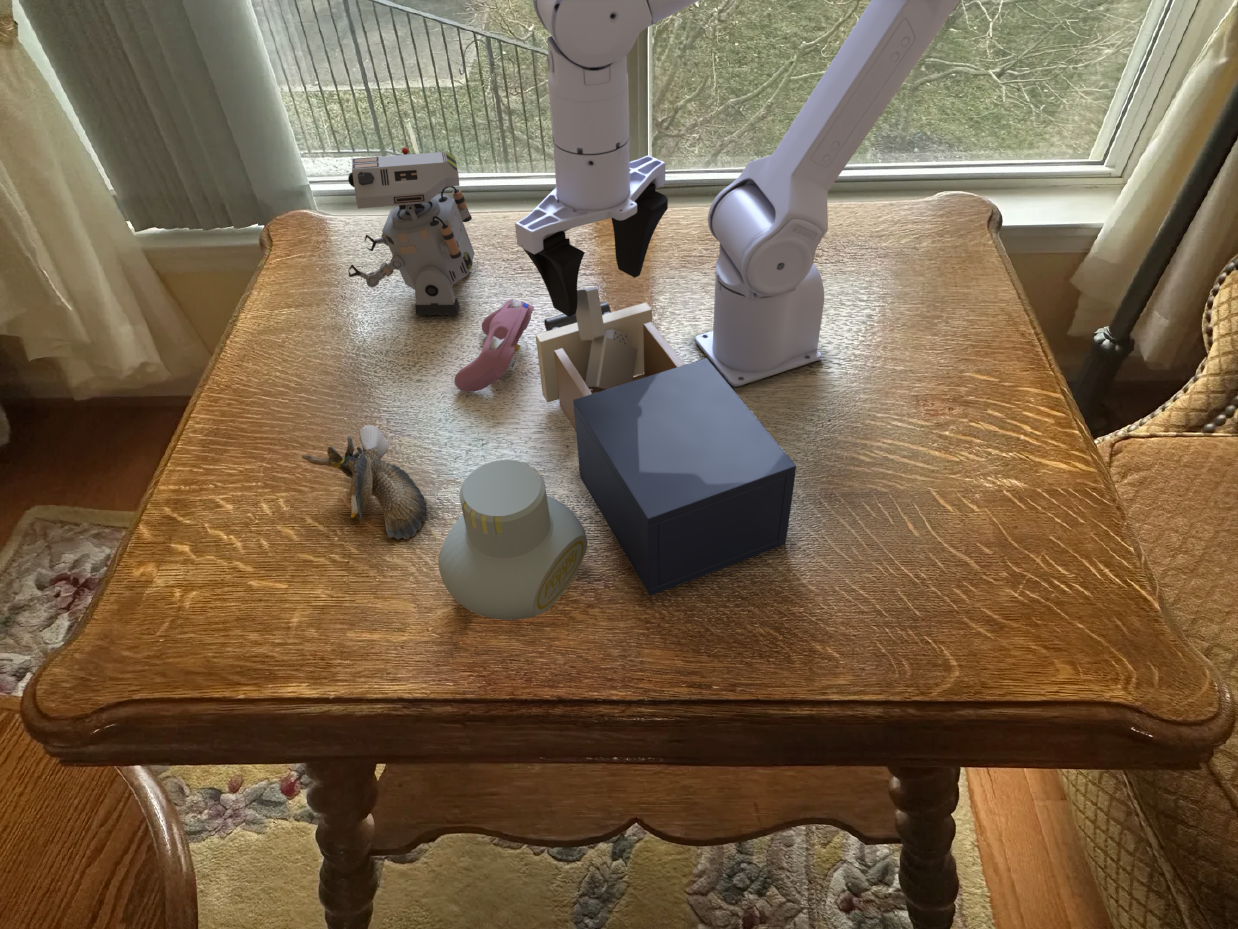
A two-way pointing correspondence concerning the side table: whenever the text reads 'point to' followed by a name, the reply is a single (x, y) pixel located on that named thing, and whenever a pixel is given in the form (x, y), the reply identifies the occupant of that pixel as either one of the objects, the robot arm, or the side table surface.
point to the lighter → (603, 345)
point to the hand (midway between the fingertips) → (597, 290)
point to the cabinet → (683, 474)
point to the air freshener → (510, 544)
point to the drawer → (570, 355)
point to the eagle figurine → (378, 483)
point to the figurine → (418, 224)
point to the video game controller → (496, 346)
